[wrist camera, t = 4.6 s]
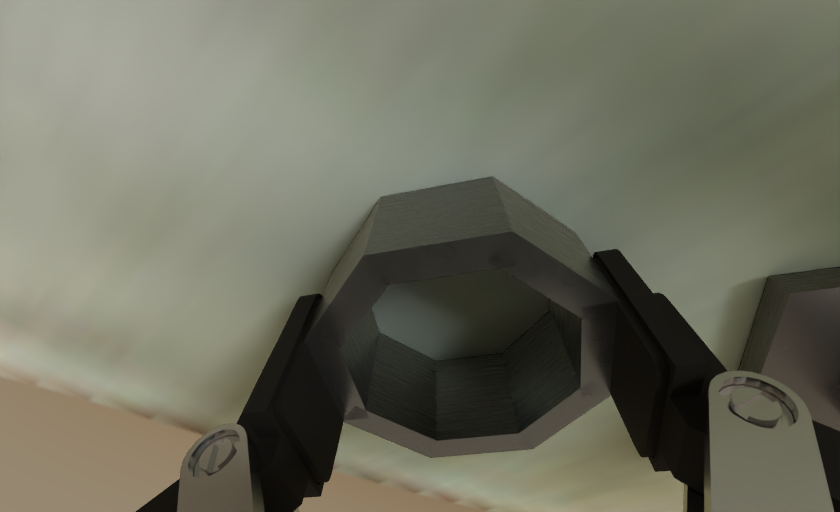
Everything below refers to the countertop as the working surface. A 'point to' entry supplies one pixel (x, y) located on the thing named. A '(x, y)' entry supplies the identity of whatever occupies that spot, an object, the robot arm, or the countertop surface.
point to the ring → (474, 376)
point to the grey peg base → (800, 339)
